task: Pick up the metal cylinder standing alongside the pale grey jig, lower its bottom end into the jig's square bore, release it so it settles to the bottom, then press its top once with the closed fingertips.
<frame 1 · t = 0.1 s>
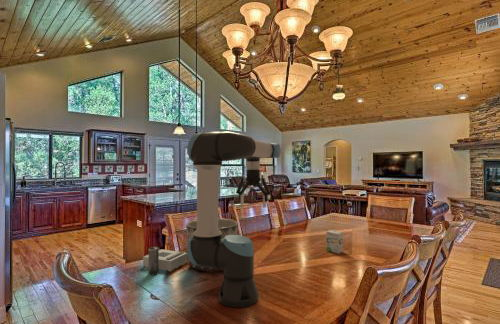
hand: (253, 206, 161), 28 cm above the table, fingers open, 13 cm apart
rock: (196, 252, 170), on the table
ink box: (334, 251, 171), on the table
planter: (212, 266, 145), on the table
jig: (166, 264, 148), on the table
metal cylinder: (153, 273, 136), on the table
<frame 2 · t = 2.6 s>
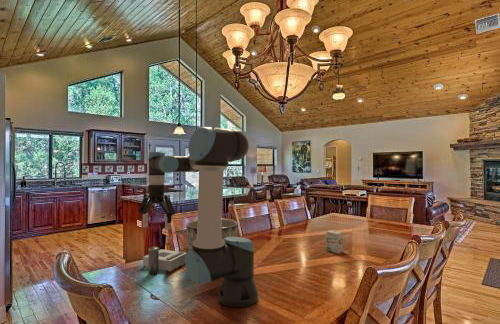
hand: (156, 228, 137), 21 cm above the table, fingers open, 13 cm apart
nothing on the table moved.
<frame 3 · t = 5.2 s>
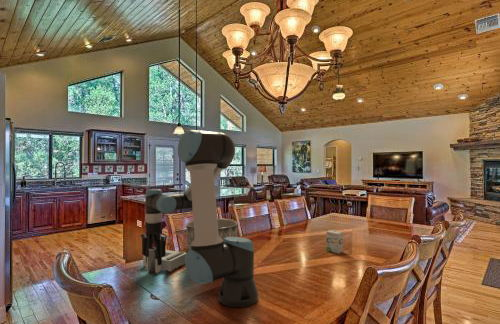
hand: (153, 270, 136), 1 cm above the table, fingers closed on metal cylinder, 4 cm apart
metal cylinder: (153, 273, 136), on the table, touching gripper
everything else where it was.
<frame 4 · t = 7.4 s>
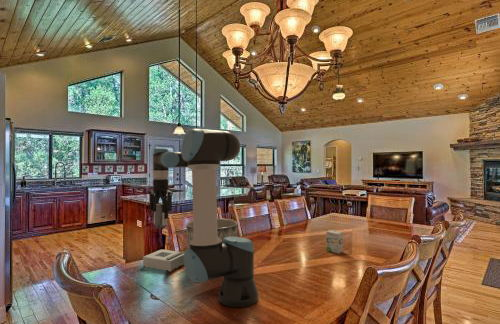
hand: (160, 224, 145), 21 cm above the table, fingers closed on metal cylinder, 4 cm apart
metal cylinder: (160, 226, 145), point 20 cm above the table, touching gripper
everything else where it was.
when the fingers open (7 cm above the table, at t = 9.8 s): metal cylinder drops 4 cm, resting in jig.
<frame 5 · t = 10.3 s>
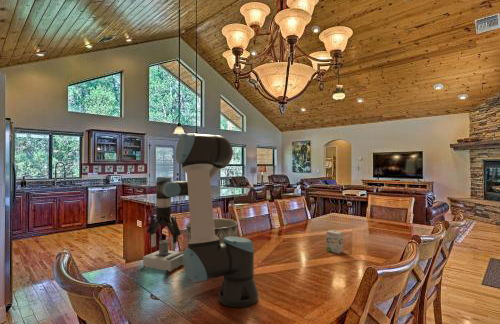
hand: (163, 247, 148), 8 cm above the table, fingers open, 12 cm apart
metal cylinder: (163, 264, 148), resting in jig
everything else where it was.
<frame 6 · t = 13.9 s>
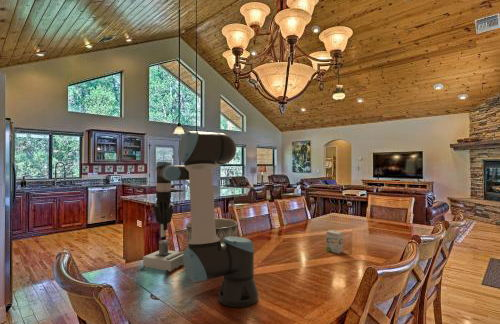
hand: (163, 236, 149), 14 cm above the table, fingers closed
nothing on the table moved.
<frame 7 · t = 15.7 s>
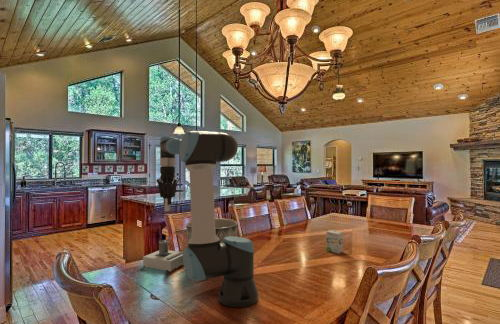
hand: (167, 210, 150), 27 cm above the table, fingers closed
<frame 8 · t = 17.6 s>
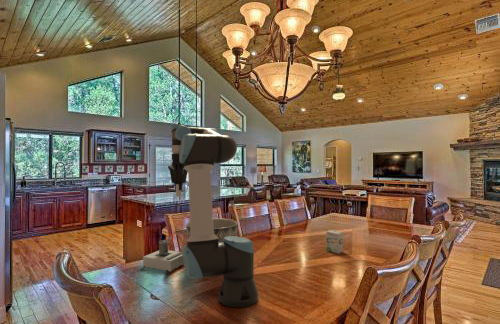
hand: (178, 196, 157), 34 cm above the table, fingers closed
at the end: metal cylinder 0.1 cm from the target spot on the jig, point 0.0 cm above the jig's base; metal cylinder tilted 0°; the gripper is holding nothing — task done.
